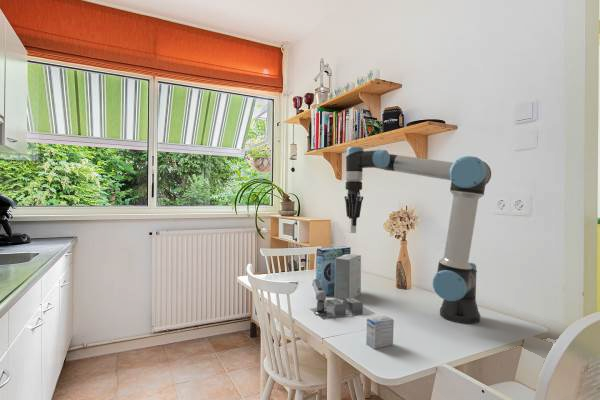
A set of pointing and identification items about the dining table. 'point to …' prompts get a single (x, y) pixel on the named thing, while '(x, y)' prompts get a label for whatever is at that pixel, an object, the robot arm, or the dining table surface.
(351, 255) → the hard drive box
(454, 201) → the robot arm
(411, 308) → the dining table surface
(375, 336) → the medicine box
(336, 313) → the power supply block
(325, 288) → the blue printed carton
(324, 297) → the cable arm
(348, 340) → the dining table surface
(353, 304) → the block
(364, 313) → the server tray
